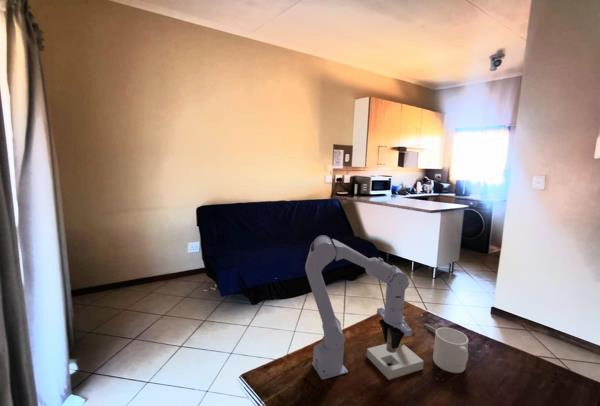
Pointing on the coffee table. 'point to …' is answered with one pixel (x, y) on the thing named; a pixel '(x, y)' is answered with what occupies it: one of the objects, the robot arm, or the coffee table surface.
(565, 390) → the coffee table surface
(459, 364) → the mug
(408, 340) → the latch
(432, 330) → the caliper
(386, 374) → the white flat block
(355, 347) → the coffee table surface
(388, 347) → the peg
